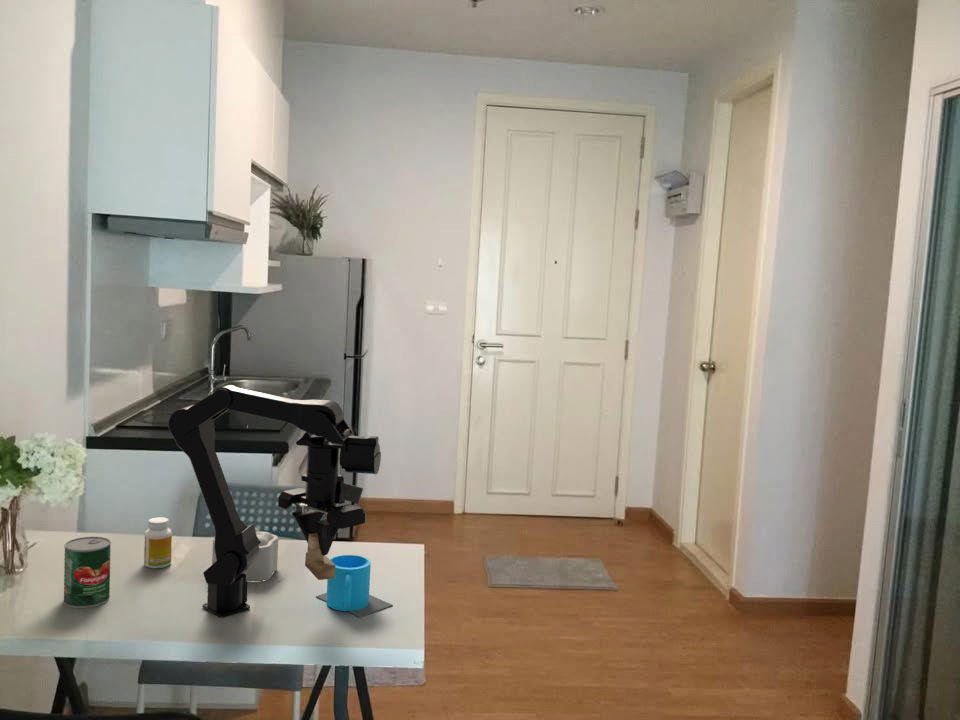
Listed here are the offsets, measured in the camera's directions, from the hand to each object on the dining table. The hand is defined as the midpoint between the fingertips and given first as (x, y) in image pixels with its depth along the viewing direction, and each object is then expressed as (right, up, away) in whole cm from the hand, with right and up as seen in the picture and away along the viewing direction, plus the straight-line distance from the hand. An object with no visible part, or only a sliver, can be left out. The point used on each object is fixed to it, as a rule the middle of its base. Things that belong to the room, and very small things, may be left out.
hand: (319, 552), depth 155 cm
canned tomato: (-44, -10, +3) cm, 45 cm away
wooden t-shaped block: (-1, -4, 0) cm, 4 cm away
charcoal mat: (+5, -12, +10) cm, 16 cm away
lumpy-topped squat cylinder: (-20, -9, +22) cm, 31 cm away
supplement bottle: (-39, -8, +23) cm, 46 cm away
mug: (+4, -12, +7) cm, 14 cm away
